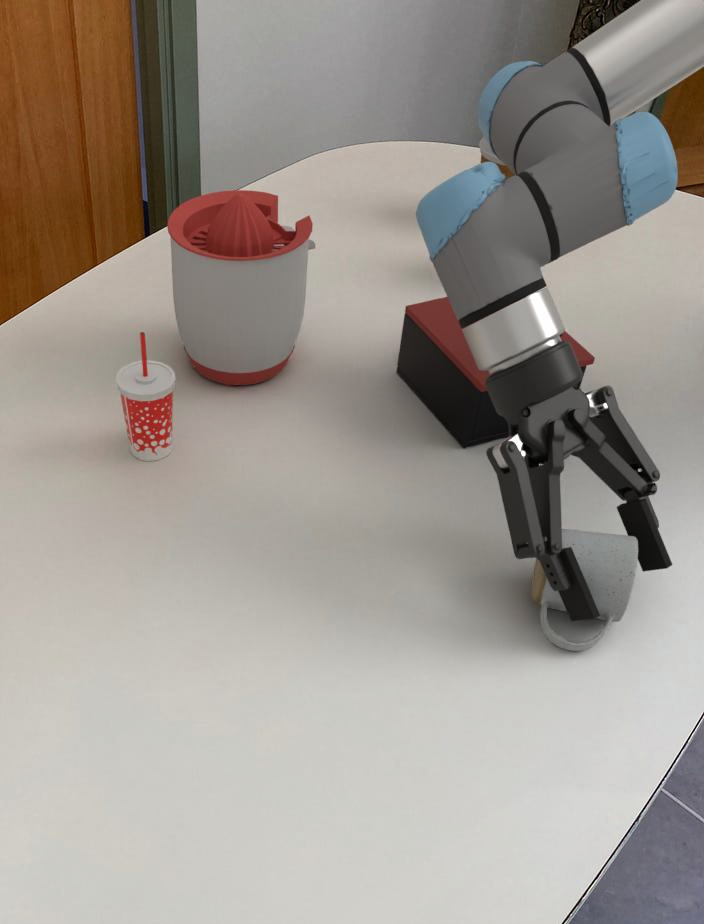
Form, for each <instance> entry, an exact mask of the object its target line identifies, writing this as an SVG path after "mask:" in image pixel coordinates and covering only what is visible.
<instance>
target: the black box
mask: <svg viewBox="0 0 704 924" xmlns="http://www.w3.org/2000/svg"><path fill="white" fill-rule="evenodd" d="M398 349H399V350H398V356H397V364H396V369H395V371H396V374H397V375H398V376H399V378H400V379H401V380H402V381H403V382H404V383H405V384H406V385H407V386H408V388H409V389H410V390H411V391H412V392H413V393H414V394H415V396H417V398H418V399H419V400H420V401H421V402H422V403H423V405H424V406H425V407H426V408H427V409H428V410H429V411H430V413H431V414H432V415H433V416H434V417H435V418H436V419H437V420H438V421H439V423H440V424H441V425H442V426H443V427H444V429H445V430H446V431H447V432H448V433H449V434H450V435H451V436H452V438H453V439H454V440H456V442H457V443H458V444H459V445H460V446H461V447H462V448H463V449H467V448H468V449H469V448H472V447H475V446H479V445H483V444H487V443H490V442H493V441H498V440H502V439H507V438H509V425H508V422H507V420H506V419H505V418H504V417H503V416H500V415H499V414H497V412H496V410H495V407H494V405H493V403H492V400H491V398H490V396H489V393H488V391H483V392H481V391H480V390H479V389H478V388H477V387H476V386H475V385H474V384H473V383H472V382H471V381H470V380H469V379H468V378H467V377H466V376H465V375H464V374H463V372H462V371H461V370H460V369H459V368H458V367H457V366H456V365H455V364H454V363H453V362H452V361H451V360H450V359H449V358H448V357H447V356H446V355H445V354H444V353H443V352H442V350H441V349H440V348H439V347H438V346H437V345H436V344H435V343H434V342H433V341H432V340H431V339H430V338H429V337H428V336H427V335H426V334H425V333H424V332H423V331H422V330H421V328H420V327H419V326H418V325H417V324H416V323H415V322H414V321H413V320H412V319H411V318H410V317H409V316H408V315H407V314H406V313H405V312H404V316H403V322H402V330H401V336H400V344H399V348H398ZM580 368H581V370H582V373H583V377H582V379H581V381H580V382H579V383H578V385H579V387H580V388H581V386H582V382H583V379H584V375H585V373H586V369H587V366H583V367H580Z"/></svg>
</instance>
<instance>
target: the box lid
mask: <svg viewBox="0 0 704 924" xmlns="http://www.w3.org/2000/svg"><path fill="white" fill-rule="evenodd" d="M525 298H526V297H525ZM523 299H524V298H523ZM521 300H522V299H521ZM519 301H520V300H519ZM517 302H518V301H517ZM515 303H516V302H515ZM513 304H514V303H513ZM405 313H406V314H407V315H408V316H409V317H410V318H411V319H412V320H413V321H414V322H415V323H416V324H417V325H418V326H419V327H420V328H421V330H422V331H423V332H424V333H425V334H426V335H427V336H428V337H429V338H430V339H431V340H432V341H433V342H434V343H435V344H436V345H437V346H438V347H439V348H440V349H441V350H442V352H443V353H444V354H445V355H446V356H447V357H448V358H449V359H450V360H451V361H452V362H453V363H454V364H455V365H456V366H457V367H458V368H459V369H460V370H461V371H462V372H463V374H464V375H465V376H466V377H467V378H468V379H469V380H470V381H471V382H472V383H473V384H474V385H475V386H476V387H477V388H478V389H479V390H480V391H481V392H483V391H487V389H486V386H485V384H484V383H485V382H486V380H485V378H486V377H488V376H490V375H489V373H488V371H487V370H485V371H481V370H479V369H478V367H477V364H476V362H475V360H474V357H473V355H472V353H471V350H470V348H469V346H468V343H467V341H466V338H465V336H464V334H463V331H462V329H464V328H466V327H468V326H470V325H472V324H470V325H468V326H466V327H464V328H462V329H461V326H460V324H459V320H457V317H456V315H455V313H454V310H453V308H452V306H451V304H450V301H449V299H448V297H447V296H444V297H439V298H435V299H430V300H426V301H422V302H417V303H413V304H408V305H405V308H404V314H405ZM493 314H494V313H493ZM491 315H492V314H491ZM489 316H490V315H489ZM487 317H488V316H487ZM485 318H486V317H485ZM483 319H484V318H483ZM481 320H482V319H481ZM479 321H480V320H479ZM476 322H478V321H476ZM476 322H474V323H476ZM474 323H473V324H474ZM559 336H560V338H561V340H562V341H564V340H566V341H567V343H568V342H570V344H571V346H572V348H573V351H574V353H575V356H576V358H577V361H578V363H579V366H580V367H583V366H586V367H587V366H590V365H593V364H594V362H595V360H596V357H595V356H594V355H593V354H592V353H591V352H590V351H589V350H587V349H586V347H584V346H583V345H581V344H580V343H579V342H578V341H577V340H576V339H575V338H574V337H573V336H571V335H570V334H569V333H568V332H567V331H566V330H564V332H563V333H562V334H560V335H559Z"/></svg>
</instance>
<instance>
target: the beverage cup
mask: <svg viewBox="0 0 704 924" xmlns="http://www.w3.org/2000/svg"><path fill="white" fill-rule="evenodd" d="M139 339H140V351H141V352H140V353H141V360H137V361H134V362H130V363H127V364H125V366H123V367H121V368H120V369H119V370H118V372H117V374H116V375H115V384H116V388H117V391H118V392H119V394H120V399H121V405H122V411H123V416H124V422H125V428H126V434H127V440H128V447H129V451H130V453H131V455H132V456H133V457H134V458H136V459H138V460H140V461H145V462H157V461H159V460H162V459H164V458H166V457H167V456H169V455H170V454H171V452H172V449H173V410H174V409H173V408H174V407H173V405H174V389H175V388H176V373H175V371H174V370H173V368H172V367H171V366H170V365H167V364H165V363H164V362H162V361H156V360H150V359H149V360H147V346H146V332H144V331H141V332H139Z"/></svg>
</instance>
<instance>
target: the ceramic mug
mask: <svg viewBox="0 0 704 924" xmlns="http://www.w3.org/2000/svg"><path fill="white" fill-rule="evenodd" d="M545 541H547V538H546V537H545ZM568 547H571V548H572V550H573V552H574V555H575V557H576V559H577V562H578V564H579V566H580V569H581V571H582V573H583V576H584V578H585V581H586V583H587V585H588V588H589V590H590V592H591V595H592V597H593V599H594V602H595V604H596V607H597V609H598V611H599V614H600V616H599V617H597V618H596V619H598V620H604V622H605V623H604V624H603V627H602V629H601V630H600V632H599V633H598V634H596V635H595V636H593V637H592V638H589V639H588V640H586V641H584V642H579V643H578V642H572V641H569V640H567V639H566V638H564V637H563V635H559V634H556V632H555V631H554V630H553V629H552V628H551V626H550V624H549V621H548V611H547V610H548V608H549V609H552V610H557V611H562V612H567V610H566V608H565V606H564V603H563V601H562V599H561V596H560V594H559V592H558V591H554V590H553V589H552V588H551V586H550V584H549V582H548V579H547V576H546V575H545V572H544V570H543V568H542V565H541V563H540V561H539V560H538V559H537V558H535V562H534V569H533V574H532V581H531V588H530V589H531V591H530V596H531V599H532V600H533V601H534V603H536V604H537V605H541V608H540V613H539V618H540V627H541V630H542V632H543V635H544V636H545V637H546V638H547V640H548V641H549V642H550V643H552V644H553V645H555V646H556V647H558V648H560V649H562V650H563V649H564V650H567V651H572V652H582V651H587V650H590V649H592V648H593V647H594V646H597V645H598V643H600V642H601V640H603V638H604V637H605V636H606V634H607V632H608V631H609V629H610V627H611V624H612V622H613V623H619V622H621V621H622V619H623V617H624V616H625V613H626V611H627V609H628V606H629V604H630V603H629V602H630V600H631V596H632V592H633V589H634V584H635V579H636V574H637V573H636V572H637V567H638V562H639V561H638V541H637V538H636V537H634V536H628V535H625V534H615V533H614V534H613V533H605V532H597V531H596V532H595V531H585V530H578V529H577V530H576V529H568V528H562V548H568Z"/></svg>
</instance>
